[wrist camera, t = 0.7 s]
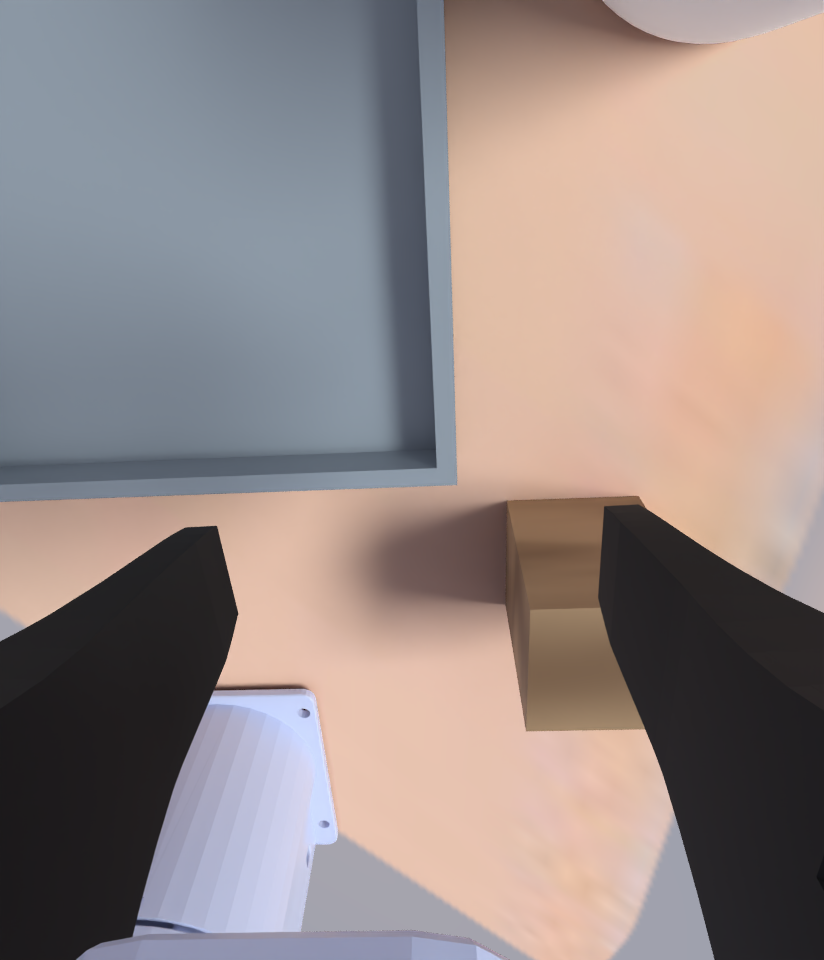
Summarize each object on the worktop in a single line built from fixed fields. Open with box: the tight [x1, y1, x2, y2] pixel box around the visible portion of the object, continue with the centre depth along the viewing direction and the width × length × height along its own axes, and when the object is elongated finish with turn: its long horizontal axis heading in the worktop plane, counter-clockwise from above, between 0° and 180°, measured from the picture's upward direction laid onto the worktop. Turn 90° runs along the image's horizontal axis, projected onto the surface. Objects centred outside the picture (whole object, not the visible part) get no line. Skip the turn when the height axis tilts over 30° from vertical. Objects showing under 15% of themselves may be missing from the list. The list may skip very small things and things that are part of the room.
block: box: [506, 496, 645, 731], centre depth 21 cm, size 4×4×6 cm
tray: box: [0, 0, 457, 502], centre depth 17 cm, size 16×16×2 cm
